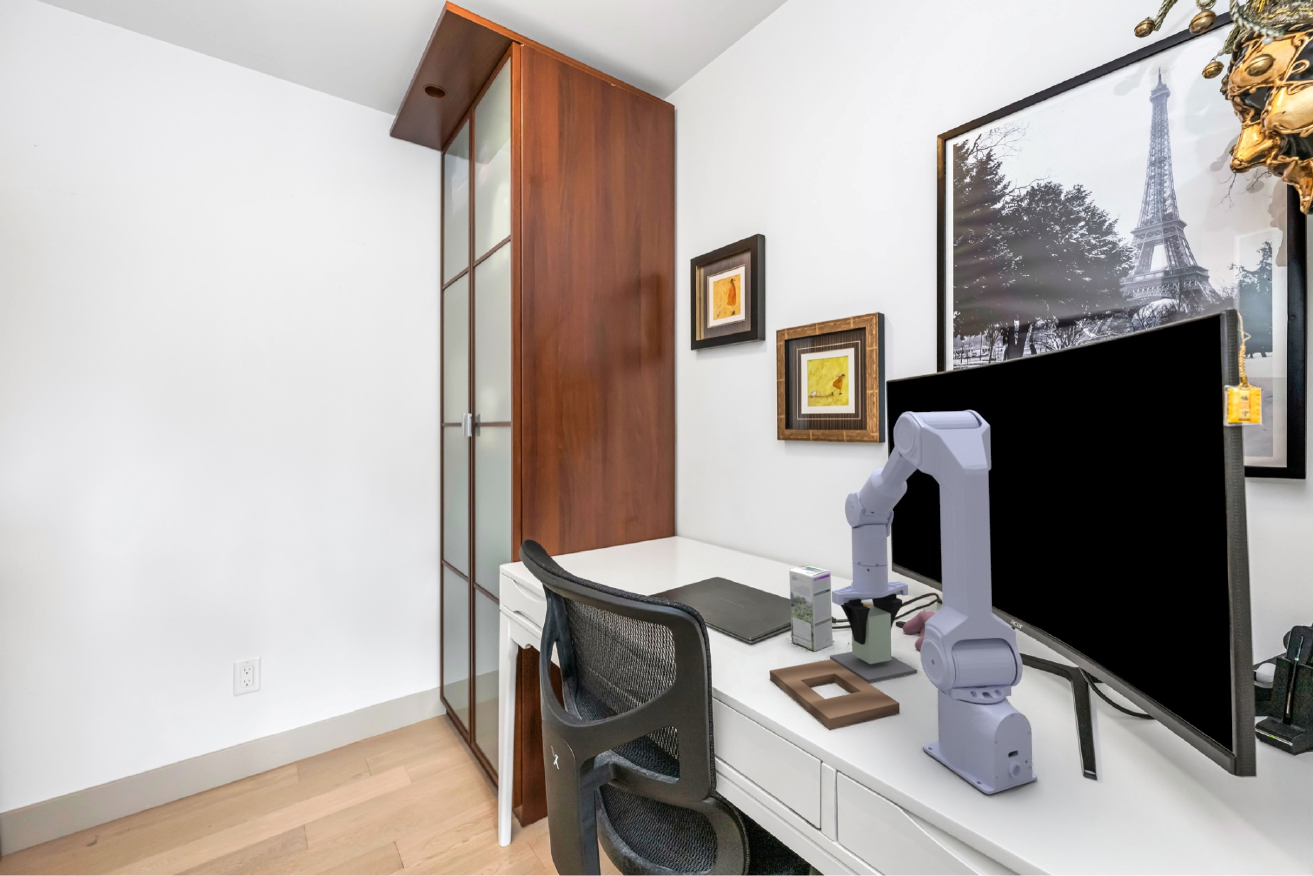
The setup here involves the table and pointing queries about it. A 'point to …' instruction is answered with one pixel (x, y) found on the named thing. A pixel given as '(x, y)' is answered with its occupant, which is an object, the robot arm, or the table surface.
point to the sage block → (875, 638)
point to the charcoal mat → (873, 667)
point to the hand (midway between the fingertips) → (871, 640)
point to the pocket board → (838, 709)
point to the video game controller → (918, 626)
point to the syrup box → (811, 607)
